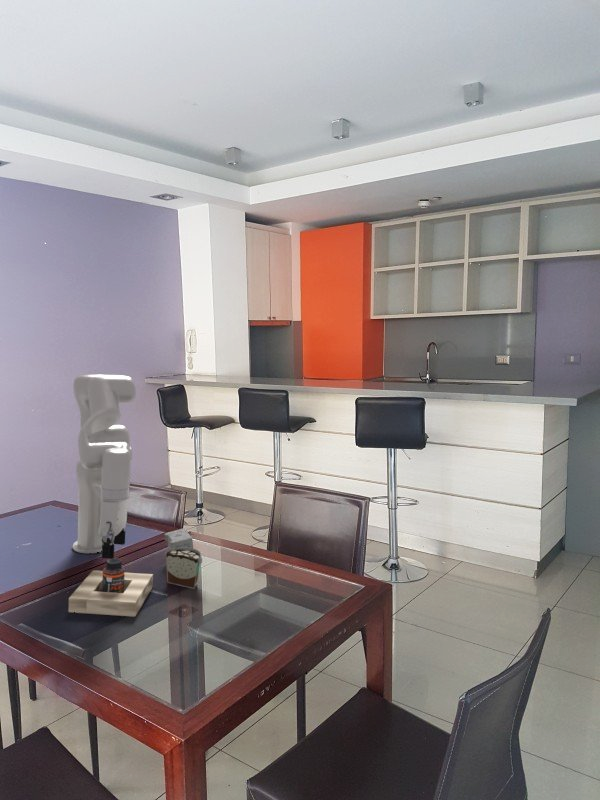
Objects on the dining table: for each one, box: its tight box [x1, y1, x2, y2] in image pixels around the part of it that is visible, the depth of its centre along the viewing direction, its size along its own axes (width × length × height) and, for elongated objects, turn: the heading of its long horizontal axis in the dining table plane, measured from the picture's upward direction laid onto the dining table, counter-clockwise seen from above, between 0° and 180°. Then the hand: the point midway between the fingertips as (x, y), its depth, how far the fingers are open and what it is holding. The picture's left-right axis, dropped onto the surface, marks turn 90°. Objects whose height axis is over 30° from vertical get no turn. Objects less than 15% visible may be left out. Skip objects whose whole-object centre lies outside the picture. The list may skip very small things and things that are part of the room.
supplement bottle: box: [102, 557, 126, 593], centre depth 166 cm, size 6×6×11 cm
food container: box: [163, 547, 203, 590], centre depth 180 cm, size 12×6×10 cm, turn 71°
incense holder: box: [163, 528, 194, 550], centre depth 193 cm, size 10×8×10 cm
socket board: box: [68, 569, 154, 617], centre depth 167 cm, size 18×18×4 cm
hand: (113, 550), depth 166 cm, fingers open, 9 cm apart
